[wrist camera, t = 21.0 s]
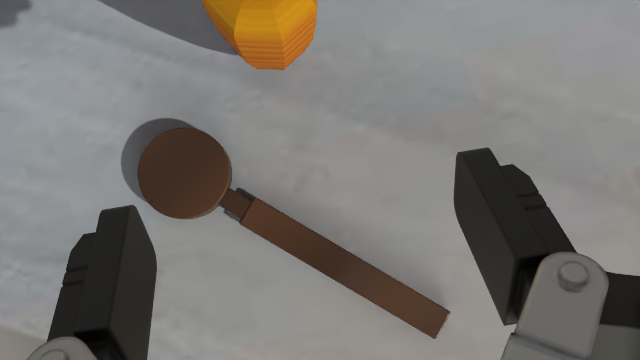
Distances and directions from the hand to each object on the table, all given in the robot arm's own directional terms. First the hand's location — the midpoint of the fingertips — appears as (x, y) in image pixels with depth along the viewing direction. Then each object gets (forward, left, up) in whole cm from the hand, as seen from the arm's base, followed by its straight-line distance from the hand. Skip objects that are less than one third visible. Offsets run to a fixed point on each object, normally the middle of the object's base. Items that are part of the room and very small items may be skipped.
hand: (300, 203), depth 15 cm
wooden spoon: (0, +1, -18) cm, 18 cm away
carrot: (+7, -6, -18) cm, 21 cm away
